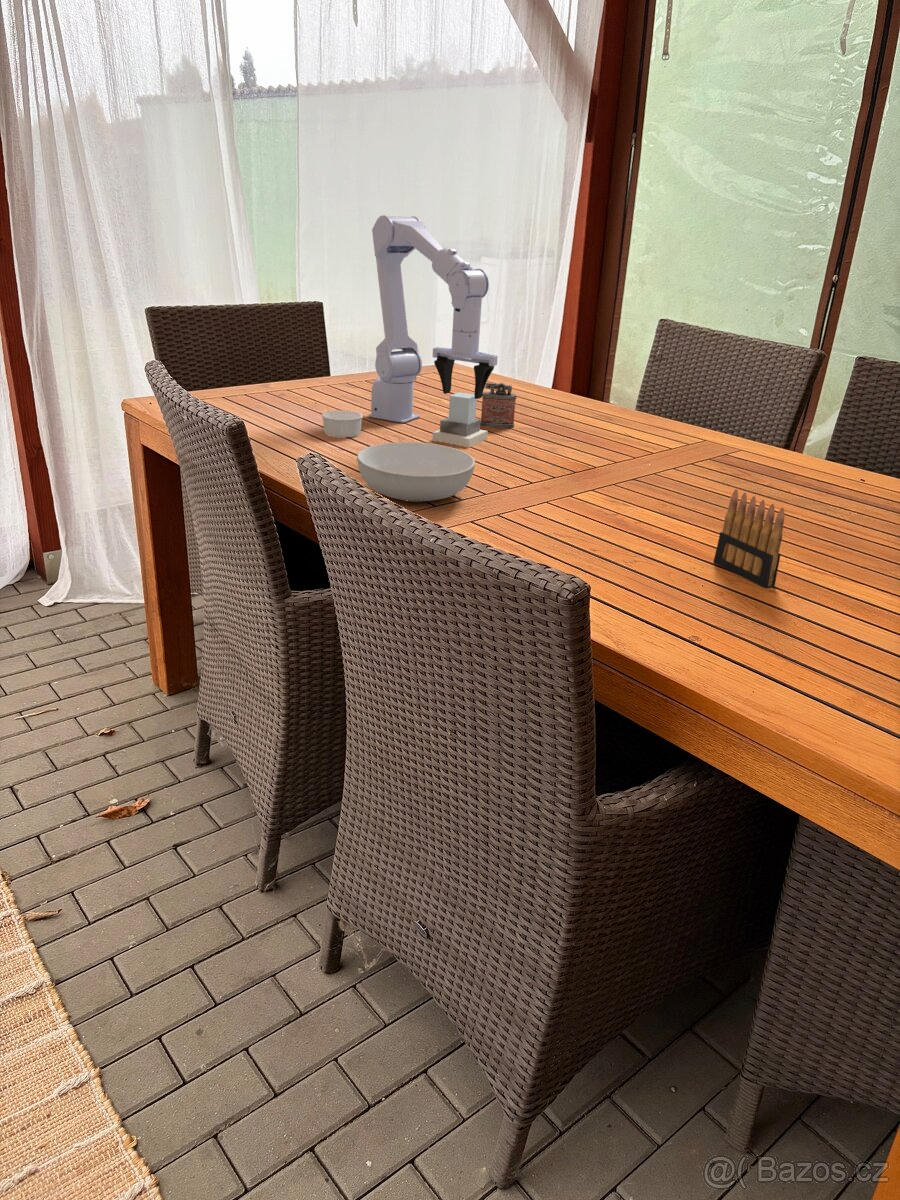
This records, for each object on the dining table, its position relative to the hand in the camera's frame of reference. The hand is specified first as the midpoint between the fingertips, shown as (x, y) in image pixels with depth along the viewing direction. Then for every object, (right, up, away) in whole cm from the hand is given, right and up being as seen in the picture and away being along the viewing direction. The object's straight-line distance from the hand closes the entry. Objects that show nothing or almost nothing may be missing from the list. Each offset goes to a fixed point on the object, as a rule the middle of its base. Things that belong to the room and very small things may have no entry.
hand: (462, 395), depth 192 cm
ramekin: (-26, -8, +4) cm, 28 cm away
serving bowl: (-9, -25, -32) cm, 42 cm away
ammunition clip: (+41, -41, -58) cm, 82 cm away
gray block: (0, -5, +2) cm, 5 cm away
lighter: (+8, -3, +18) cm, 20 cm away
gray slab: (-1, -7, +4) cm, 8 cm away
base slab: (-1, -9, +4) cm, 10 cm away
